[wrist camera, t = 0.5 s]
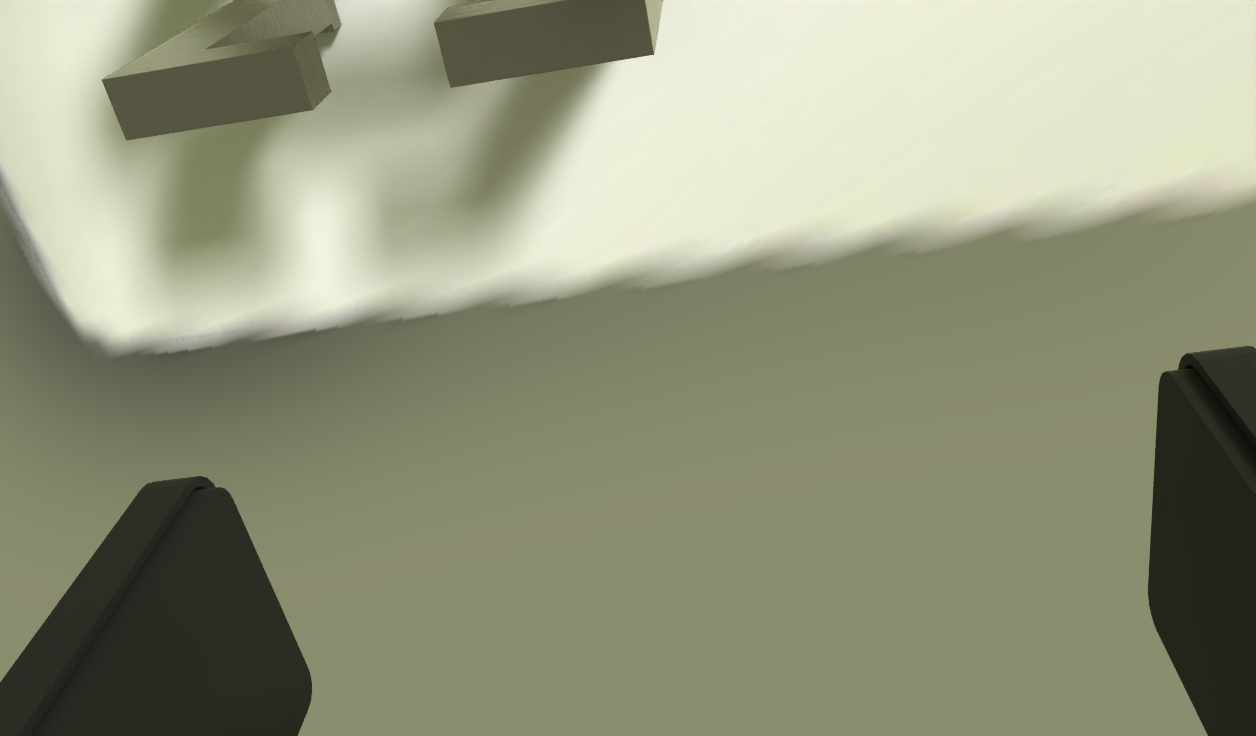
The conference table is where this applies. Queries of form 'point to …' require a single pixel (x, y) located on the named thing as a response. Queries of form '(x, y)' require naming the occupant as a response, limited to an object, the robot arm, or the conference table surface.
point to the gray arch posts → (304, 7)
